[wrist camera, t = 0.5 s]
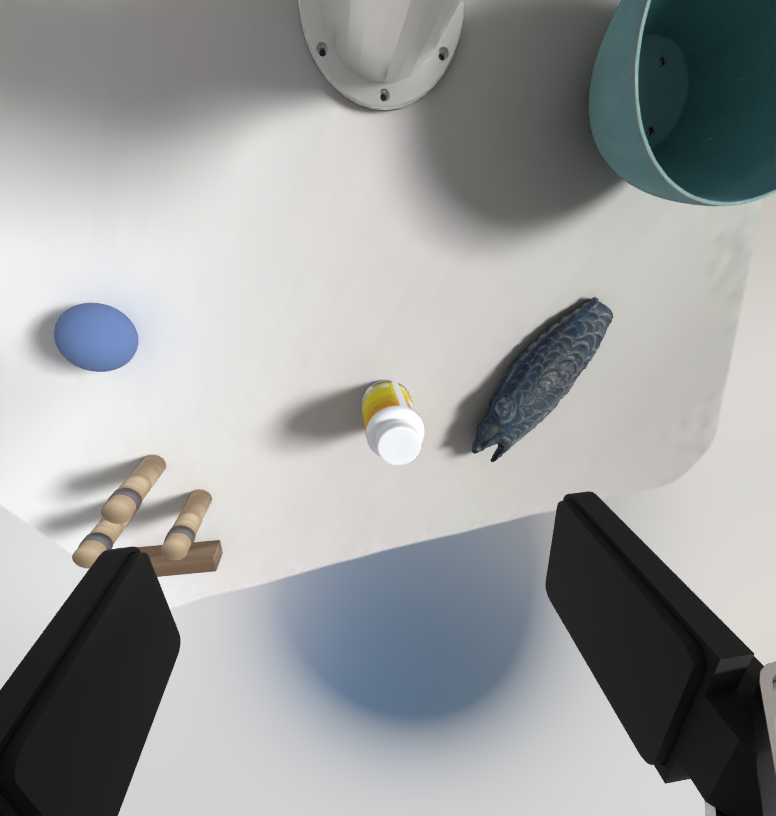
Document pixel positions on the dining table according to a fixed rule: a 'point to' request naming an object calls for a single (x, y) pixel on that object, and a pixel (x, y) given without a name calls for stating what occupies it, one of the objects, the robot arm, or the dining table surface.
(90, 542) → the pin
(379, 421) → the supplement bottle
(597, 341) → the fish model
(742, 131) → the teal bowl
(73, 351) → the ball
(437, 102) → the dining table surface
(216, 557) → the back wall
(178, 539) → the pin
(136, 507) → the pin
